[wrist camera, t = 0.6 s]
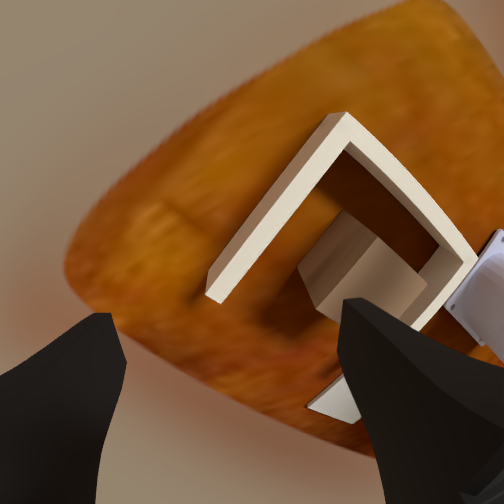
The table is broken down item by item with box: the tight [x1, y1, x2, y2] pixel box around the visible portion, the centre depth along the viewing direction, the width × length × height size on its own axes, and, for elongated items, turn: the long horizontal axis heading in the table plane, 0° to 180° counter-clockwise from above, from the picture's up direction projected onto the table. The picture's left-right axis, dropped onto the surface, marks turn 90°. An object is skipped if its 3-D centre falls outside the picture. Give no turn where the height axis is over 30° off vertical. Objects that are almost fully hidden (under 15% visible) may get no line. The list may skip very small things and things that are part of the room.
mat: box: [307, 373, 361, 424], centre depth 24 cm, size 6×6×1 cm
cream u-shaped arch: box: [205, 112, 479, 332], centre depth 18 cm, size 13×12×3 cm
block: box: [297, 209, 428, 324], centre depth 17 cm, size 4×4×5 cm
